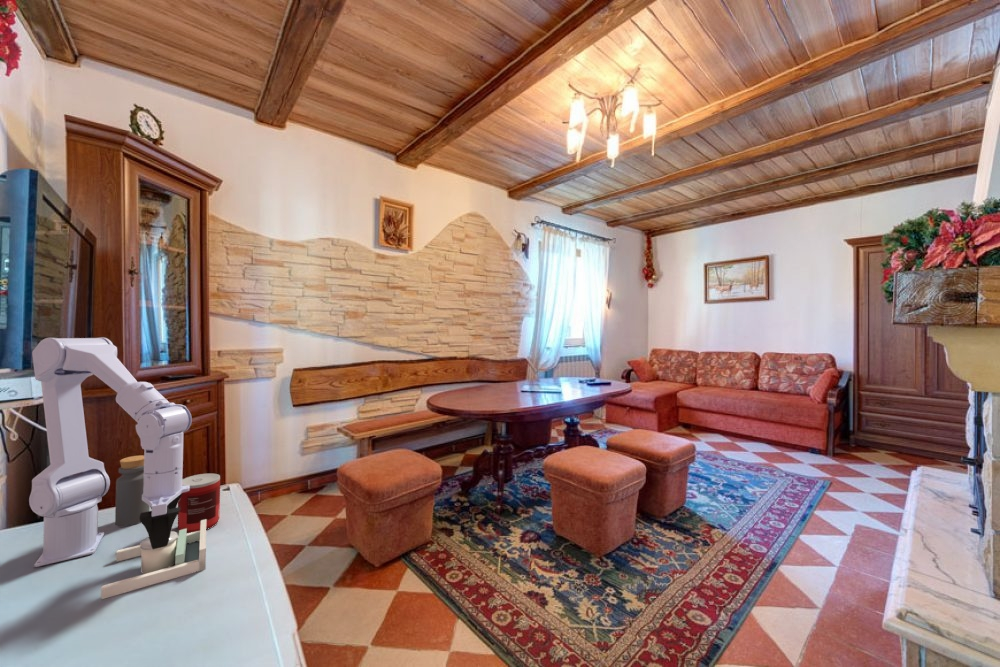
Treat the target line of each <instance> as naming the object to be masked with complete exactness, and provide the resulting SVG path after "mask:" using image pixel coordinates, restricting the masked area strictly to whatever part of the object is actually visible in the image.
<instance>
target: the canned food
mask: <svg viewBox="0 0 1000 667" xmlns="http://www.w3.org/2000/svg"><path fill="white" fill-rule="evenodd" d="M186 485H189V486H190V490H189V491H188V492H183V494H182V495H181V497H180V499H179V501H178V503H177V507H180V511H179V513H178V515H177V529H178V531H179V530H182V529H186V528H187V533H191V532H196V531H200V525H201V520H205V519H206V529H208V528H210V527H212V526H213V525H215V524H216V523H217V522H218V523H219V521H218V520H220V514H221V513H220V508H221V507H220V506H221V475H220V474H219V473H218V474H217V473H200V474H194V475H191V476H187V477H185V478H182V486H186ZM218 523H217V524H218ZM217 524H216V525H217ZM216 525H215V526H216ZM213 527H214V526H213ZM213 527H212V528H213ZM210 529H211V528H210ZM208 530H209V529H208Z"/></svg>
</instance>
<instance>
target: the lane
mask: <svg viewBox="0 0 1000 667" xmlns="http://www.w3.org/2000/svg"><path fill="white" fill-rule="evenodd" d="M195 541H197V542H199V548H198V549H199V550H198V551H199V552H198V555H199V556H198V559H195V560H192V561H188V562H187V561H186V562H184V563H183V564H179V565H176V566H175V565H171V566H170V567H168V568H165V569H161V570H158V571H154V572H150V573H143V574H140V575H136V576H133V577H128V578H125V579H122V580H118V581H115V582H112V583H107V584H105V585H102V586H101V587H100V600H104V599H107V598H110V597H114V596H117V595H122V594H124V593H128V592H133V591H135V590H139V589H141V588H145V587H149V586H152V585H155V584H160V583H163V582H165V581H168V580H173V579H176V578H179V577H183V576H186V575H191V574H193V573H192V572H194V573H196V571H197V572H200V570H201V571H204V570H206V569H207V568H206V567H207V566H206V565H207V564H206V563H207V562H206V561H207V560H206V559H207V530H206V519H205V520H201V525H200V531H196V532H192V533H188V534H187V538H186V545H188V544H187V543H189V544H192V543H191V542H193V543H195ZM177 542H178V537H177V539H176V548H177ZM115 554H116V555H115V562H118V563H119V562H121V561H124V560H129V559H133V558H137V557H141V555H142V549H141V548H140V544H138V545H135V546H130V547H126V548H121V549H118V550H116V553H115Z"/></svg>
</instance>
